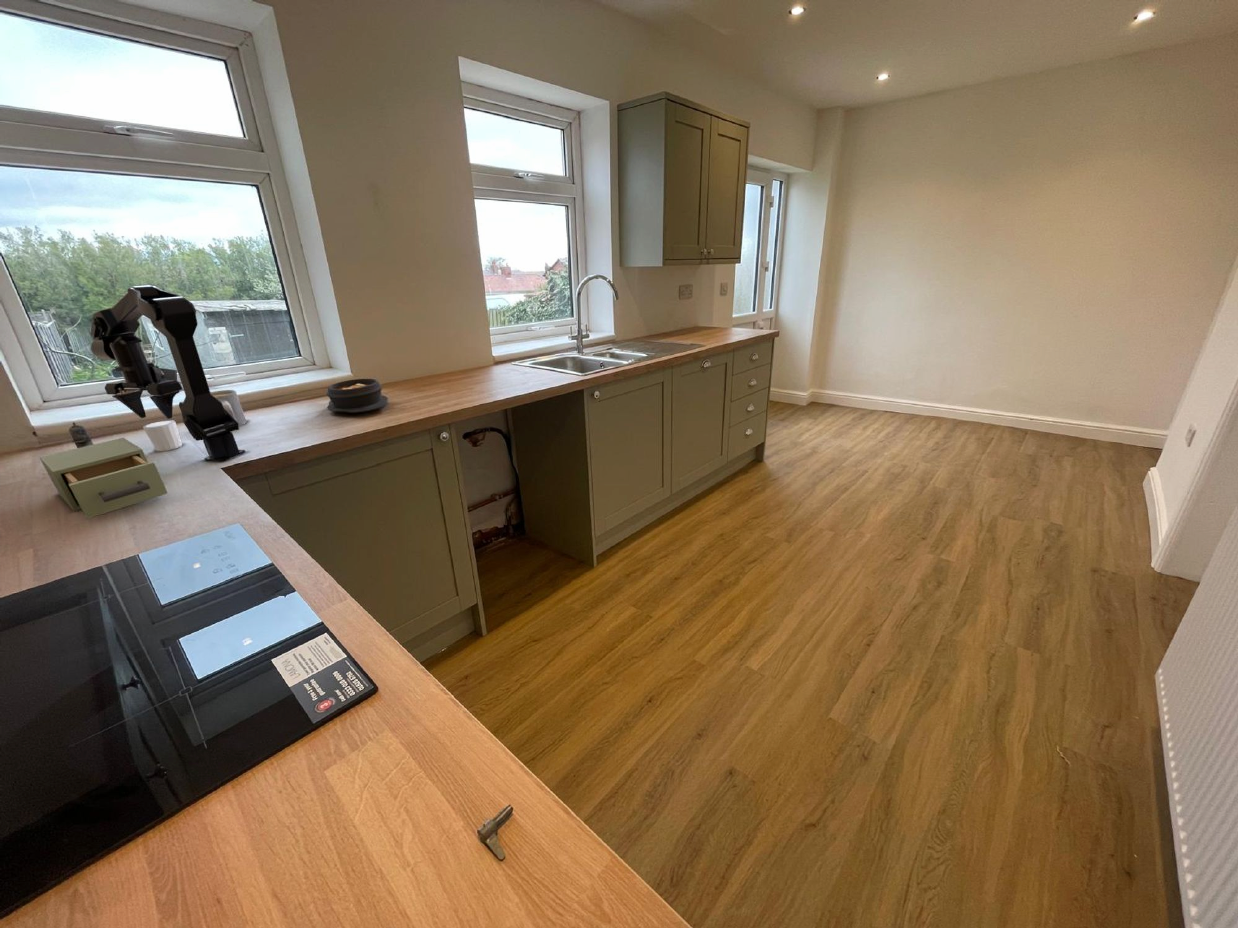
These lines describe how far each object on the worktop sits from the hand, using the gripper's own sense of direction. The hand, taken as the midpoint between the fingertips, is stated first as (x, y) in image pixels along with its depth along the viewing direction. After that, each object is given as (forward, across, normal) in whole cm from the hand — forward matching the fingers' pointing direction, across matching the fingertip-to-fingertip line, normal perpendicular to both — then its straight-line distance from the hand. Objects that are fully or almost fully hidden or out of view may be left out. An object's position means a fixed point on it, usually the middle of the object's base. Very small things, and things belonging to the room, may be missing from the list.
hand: (156, 418), depth 136 cm
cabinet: (+9, -15, +25) cm, 30 cm away
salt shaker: (+9, +6, +14) cm, 18 cm away
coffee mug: (+9, 0, -18) cm, 20 cm away
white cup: (+9, 0, 0) cm, 9 cm away
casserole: (+9, -31, -39) cm, 51 cm away
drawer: (+8, -27, +30) cm, 41 cm away
